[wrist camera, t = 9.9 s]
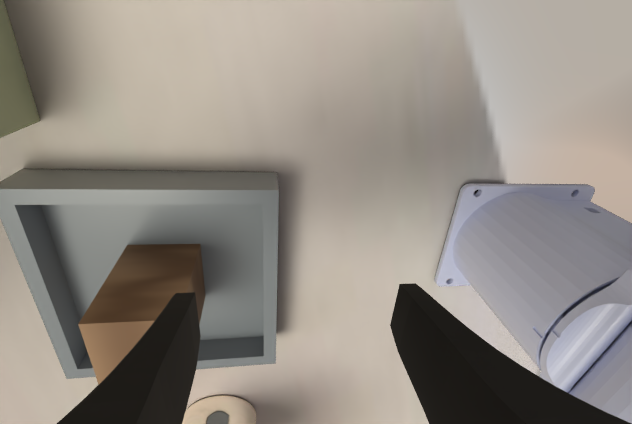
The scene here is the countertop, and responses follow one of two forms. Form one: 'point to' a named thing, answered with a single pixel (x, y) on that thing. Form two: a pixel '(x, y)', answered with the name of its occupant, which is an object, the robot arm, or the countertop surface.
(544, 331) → the robot arm
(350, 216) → the countertop surface
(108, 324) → the walnut block
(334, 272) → the countertop surface
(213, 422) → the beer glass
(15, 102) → the olive block
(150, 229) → the grey tray
